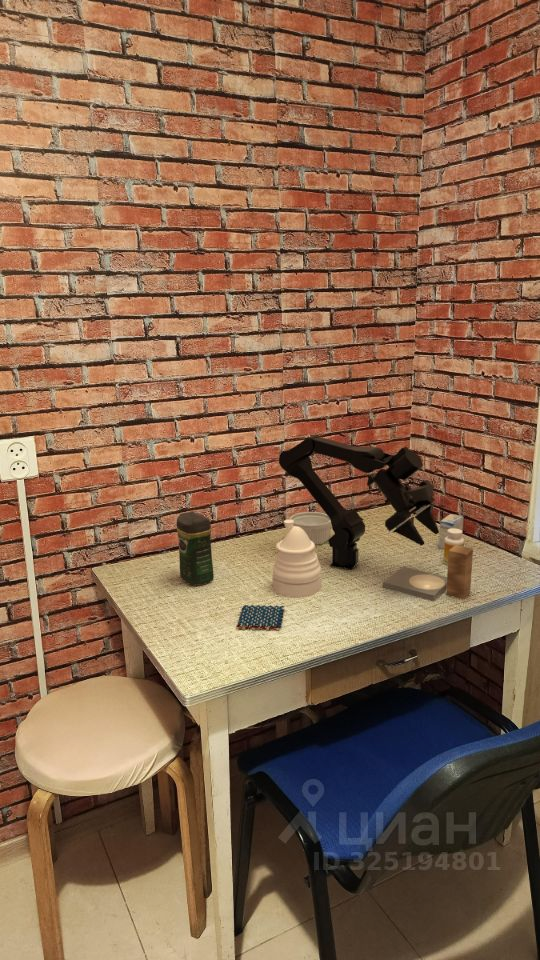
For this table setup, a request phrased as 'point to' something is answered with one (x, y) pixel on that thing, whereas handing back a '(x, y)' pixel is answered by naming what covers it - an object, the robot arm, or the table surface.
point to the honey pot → (296, 565)
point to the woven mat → (261, 617)
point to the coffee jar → (195, 548)
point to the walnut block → (459, 571)
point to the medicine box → (449, 527)
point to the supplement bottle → (452, 541)
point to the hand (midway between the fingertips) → (430, 538)
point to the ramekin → (314, 525)
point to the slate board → (416, 583)
